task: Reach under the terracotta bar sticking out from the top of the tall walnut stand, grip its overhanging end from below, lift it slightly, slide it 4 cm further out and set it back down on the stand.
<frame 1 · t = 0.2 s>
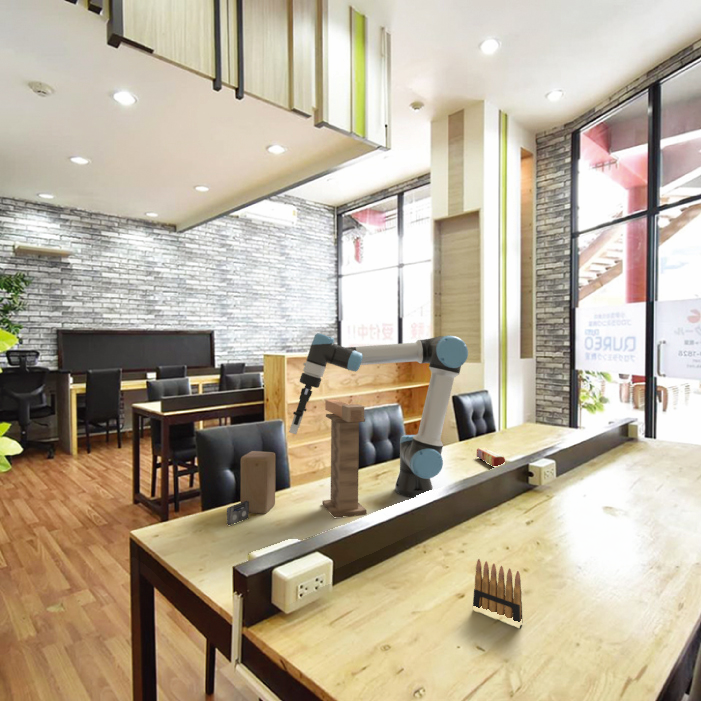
hand: (294, 429, 168), 29 cm above the table, tool tilted 20°, fingers open, 13 cm apart
terracotta bar: (342, 415, 169), point 34 cm above the table, touching walnut stand
wooden block: (258, 509, 166), on the table
mini dv tape: (237, 522, 155), on the table
walnut stand: (343, 509, 167), on the table
red boxy piece: (489, 464, 231), on the table
ammunition clip: (496, 618, 102), on the table
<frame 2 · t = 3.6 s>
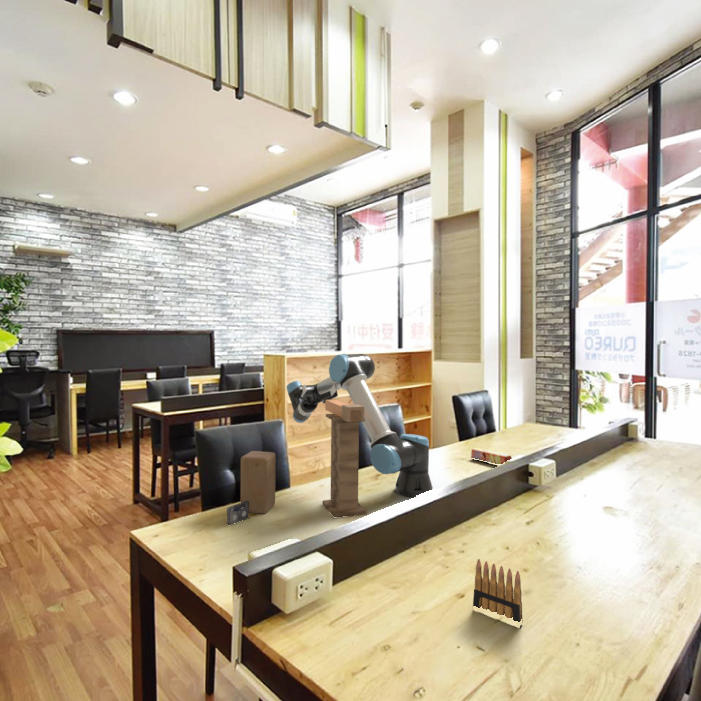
hand: (320, 387, 194), 42 cm above the table, tool pointing upward, fingers open, 13 cm apart
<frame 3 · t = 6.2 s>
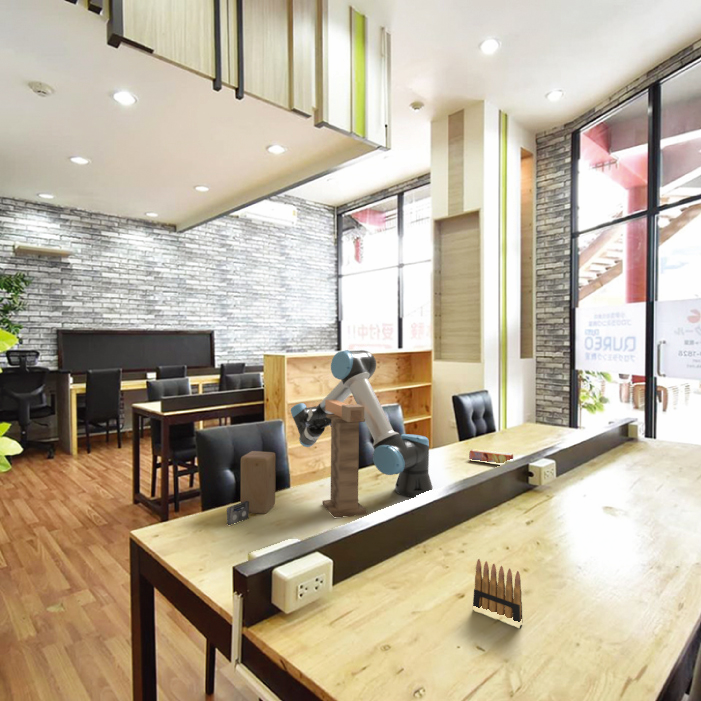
hand: (327, 410, 183), 33 cm above the table, tool pointing upward, fingers open, 13 cm apart
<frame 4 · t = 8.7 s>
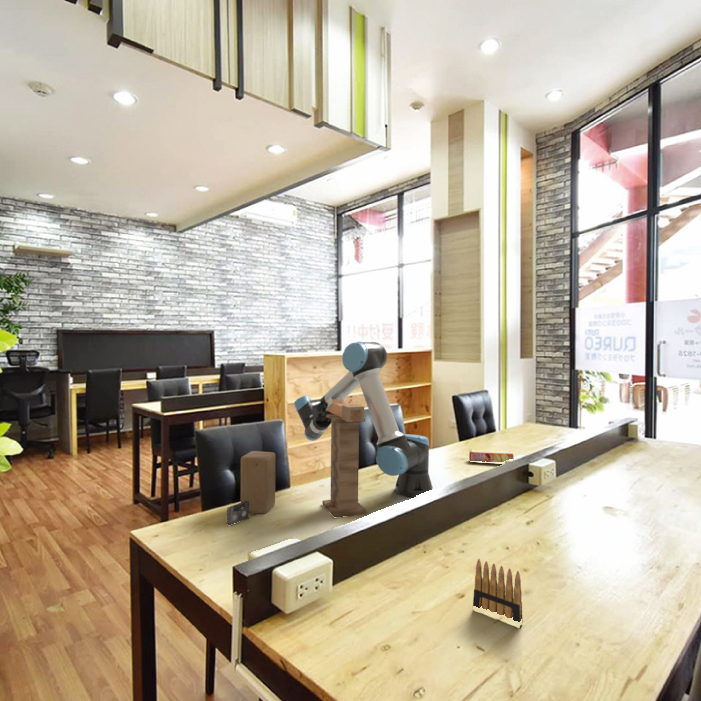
hand: (337, 400, 174), 39 cm above the table, tool pointing upward, fingers closed on terracotta bar, 4 cm apart
terracotta bar: (342, 415, 169), point 34 cm above the table, touching gripper, walnut stand
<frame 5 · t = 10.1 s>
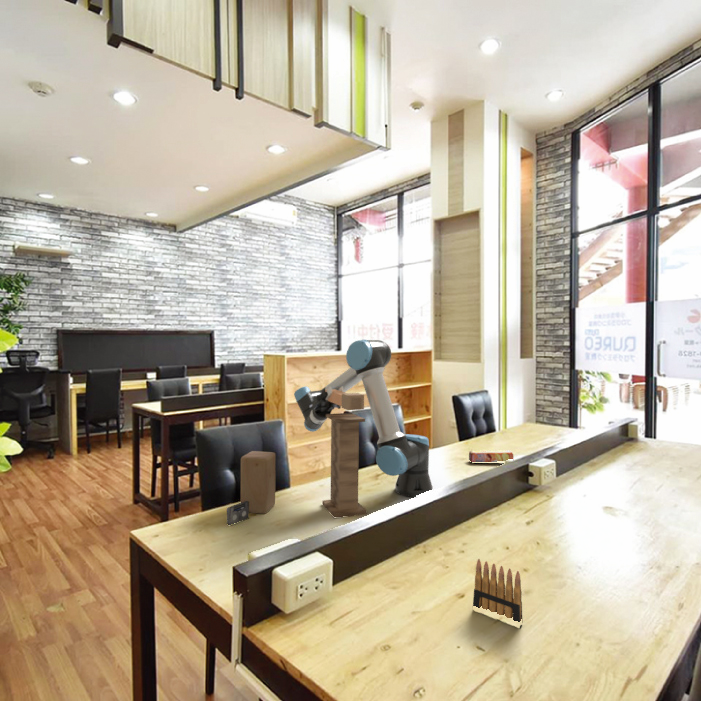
hand: (336, 389, 175), 43 cm above the table, tool pointing upward, fingers closed on terracotta bar, 4 cm apart
terracotta bar: (341, 404, 169), point 38 cm above the table, touching gripper
when the fingers open (40 cm above the table, at t = 11.7 s): terracotta bar stays where it is, resting on walnut stand.
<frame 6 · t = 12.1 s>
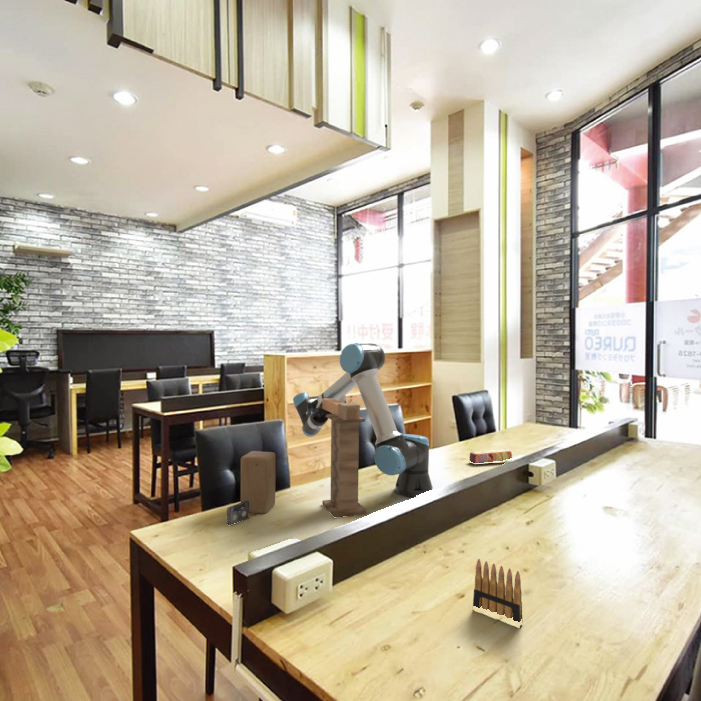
hand: (333, 397, 179), 39 cm above the table, tool pointing upward, fingers open, 9 cm apart
terracotta bar: (338, 413, 173), point 34 cm above the table, touching walnut stand
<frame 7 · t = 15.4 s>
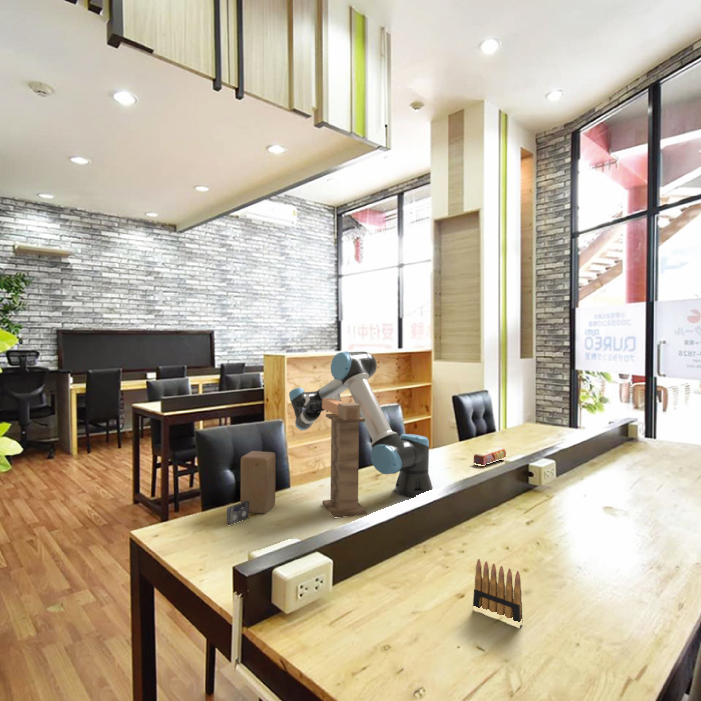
hand: (324, 396, 191), 38 cm above the table, tool pointing upward, fingers open, 13 cm apart
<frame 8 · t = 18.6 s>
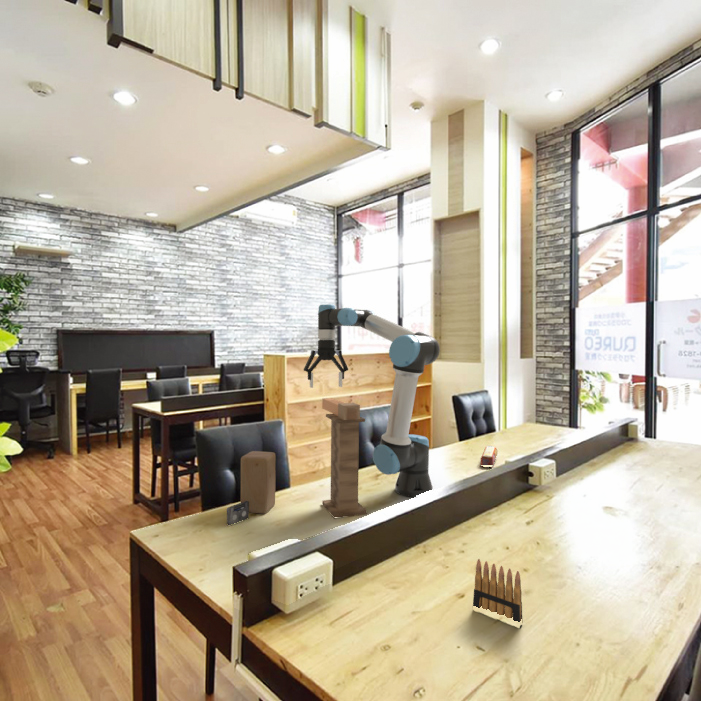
hand: (326, 387, 204), 41 cm above the table, tool pointing down, fingers open, 13 cm apart
at the end: terracotta bar 0.6 cm from the target spot on the walnut stand, point 34.0 cm above the walnut stand's base; terracotta bar touching walnut stand; the gripper is holding nothing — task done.
